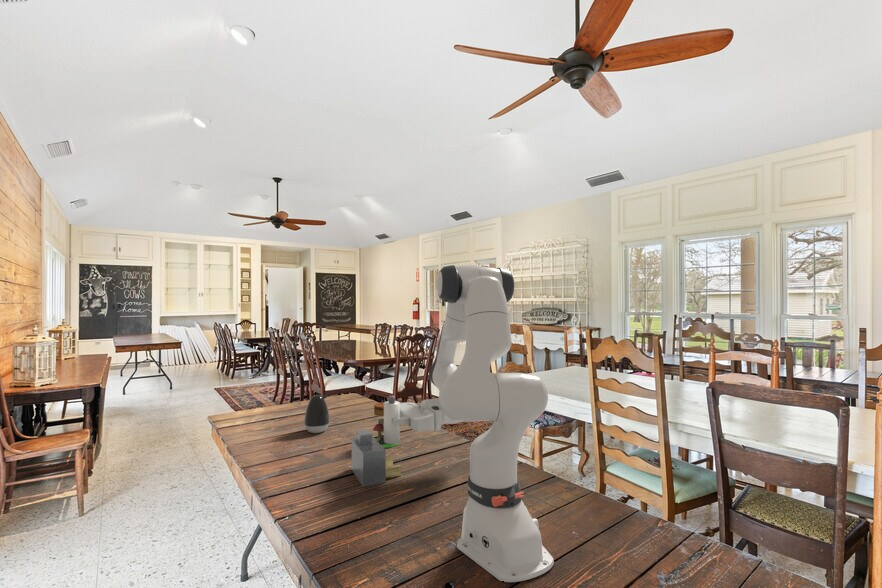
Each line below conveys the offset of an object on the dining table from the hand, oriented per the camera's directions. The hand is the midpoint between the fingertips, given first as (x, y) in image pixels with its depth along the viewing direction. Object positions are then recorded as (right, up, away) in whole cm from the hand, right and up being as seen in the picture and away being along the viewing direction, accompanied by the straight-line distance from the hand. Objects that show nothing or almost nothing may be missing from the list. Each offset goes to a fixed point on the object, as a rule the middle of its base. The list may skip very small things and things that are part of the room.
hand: (389, 418), depth 132 cm
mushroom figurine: (-5, -19, +30) cm, 36 cm away
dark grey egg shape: (-36, -18, +44) cm, 60 cm away
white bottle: (+1, -7, 0) cm, 7 cm away
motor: (-5, -19, +4) cm, 19 cm away
